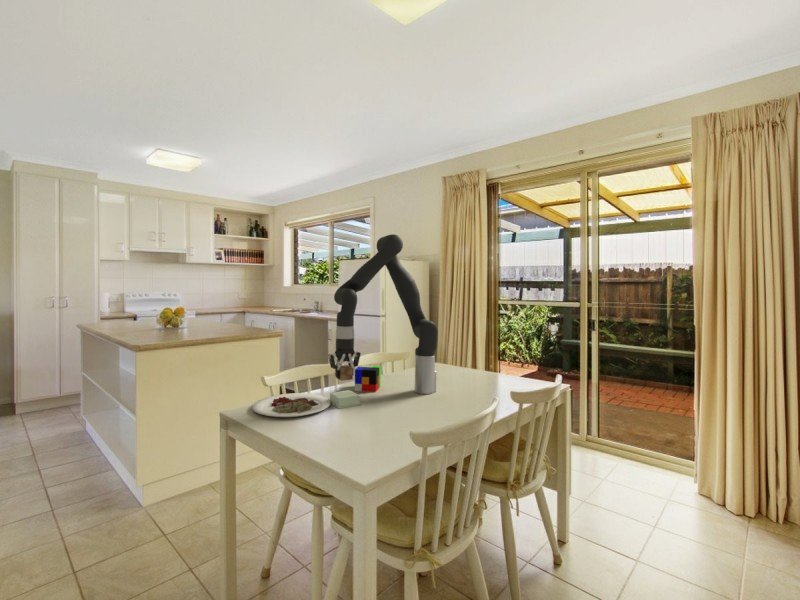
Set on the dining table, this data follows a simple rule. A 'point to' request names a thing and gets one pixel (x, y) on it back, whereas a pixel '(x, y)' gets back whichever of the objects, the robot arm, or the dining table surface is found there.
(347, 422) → the dining table surface
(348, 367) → the walnut block
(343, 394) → the pedestal
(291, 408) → the plated food
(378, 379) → the puzzle toy
